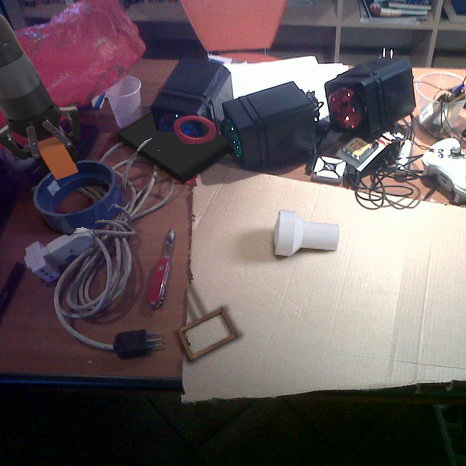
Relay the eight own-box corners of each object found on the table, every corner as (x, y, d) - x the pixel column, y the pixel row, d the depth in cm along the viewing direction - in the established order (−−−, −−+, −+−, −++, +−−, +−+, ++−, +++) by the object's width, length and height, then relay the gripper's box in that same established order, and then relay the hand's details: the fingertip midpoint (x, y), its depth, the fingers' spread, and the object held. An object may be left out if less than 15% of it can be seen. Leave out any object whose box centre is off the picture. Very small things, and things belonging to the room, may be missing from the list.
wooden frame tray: (192, 364, 75) (190, 360, 74) (157, 286, 85) (154, 281, 83) (239, 339, 77) (238, 335, 76) (199, 266, 87) (197, 261, 86)
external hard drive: (184, 187, 100) (181, 176, 98) (120, 142, 111) (115, 132, 109) (235, 151, 107) (232, 141, 105) (170, 113, 117) (166, 102, 115)
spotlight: (273, 223, 91) (277, 200, 84) (333, 228, 92) (342, 206, 85) (271, 262, 87) (275, 241, 80) (333, 267, 88) (342, 247, 81)
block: (56, 180, 88) (40, 155, 84) (52, 167, 91) (36, 142, 86) (78, 172, 90) (64, 146, 85) (73, 160, 92) (59, 134, 87)
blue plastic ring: (56, 248, 91) (41, 228, 87) (41, 199, 100) (27, 178, 95) (134, 216, 96) (124, 195, 91) (114, 172, 104) (103, 150, 100)
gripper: (55, 58, 80) (95, 140, 93) (-37, 86, 76) (18, 168, 89) (65, 79, 76) (105, 162, 89) (-32, 110, 72) (25, 192, 85)
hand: (62, 165), depth 89 cm, fingers closed on block, 4 cm apart
